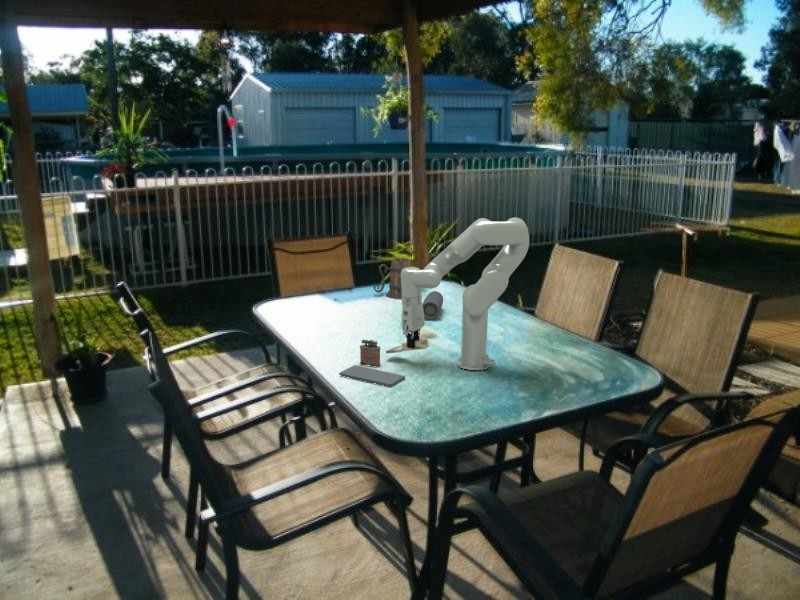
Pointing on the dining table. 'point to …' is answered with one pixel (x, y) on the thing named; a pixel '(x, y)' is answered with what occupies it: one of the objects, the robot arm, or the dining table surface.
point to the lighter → (370, 353)
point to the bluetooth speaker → (432, 304)
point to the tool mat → (372, 375)
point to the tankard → (394, 277)
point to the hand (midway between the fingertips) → (413, 346)
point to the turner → (418, 345)
